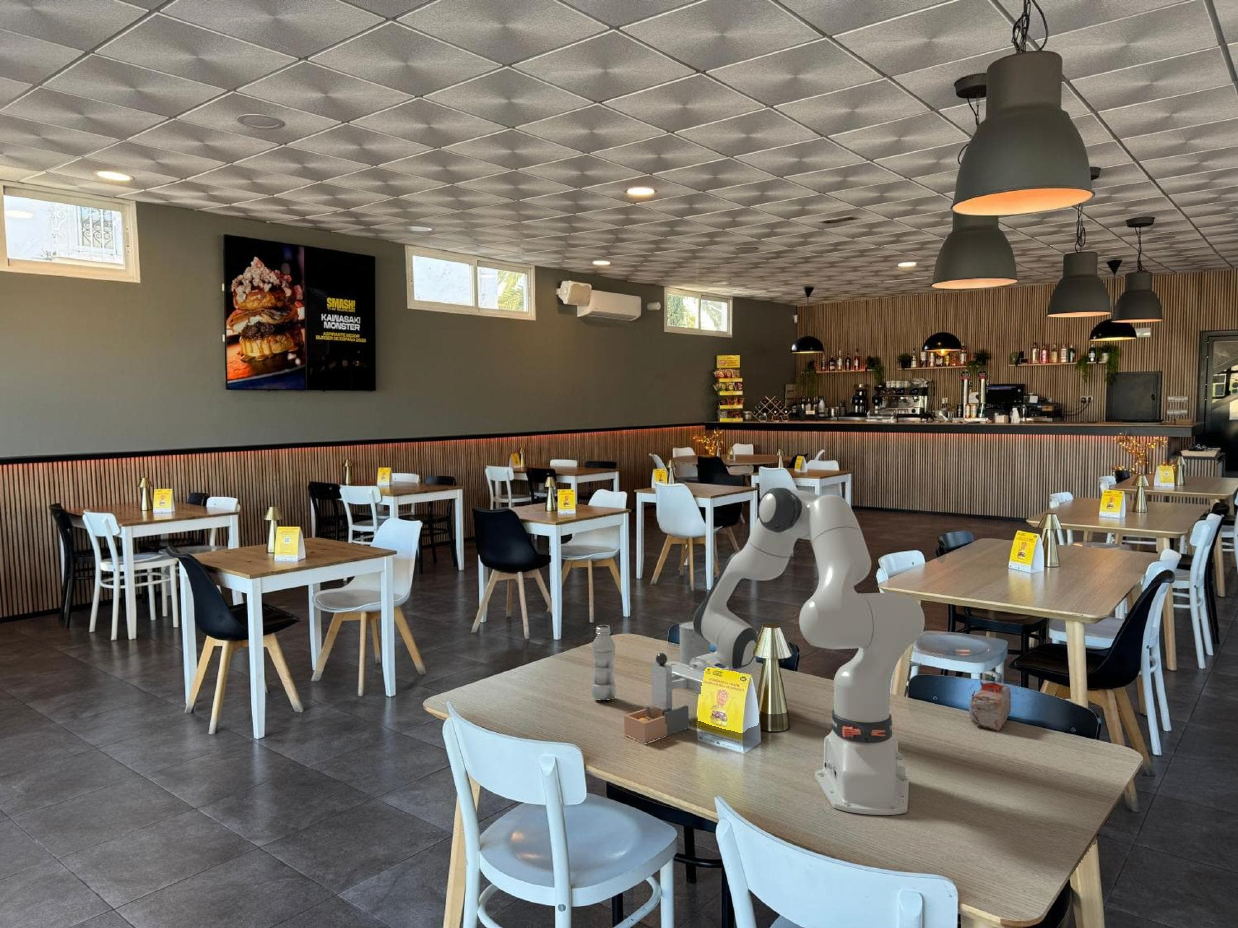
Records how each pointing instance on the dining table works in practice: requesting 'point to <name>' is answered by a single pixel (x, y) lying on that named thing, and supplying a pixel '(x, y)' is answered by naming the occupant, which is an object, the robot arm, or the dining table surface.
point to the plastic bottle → (603, 664)
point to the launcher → (675, 719)
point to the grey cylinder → (691, 643)
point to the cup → (644, 726)
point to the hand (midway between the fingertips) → (665, 685)
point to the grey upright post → (661, 687)
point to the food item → (990, 705)
